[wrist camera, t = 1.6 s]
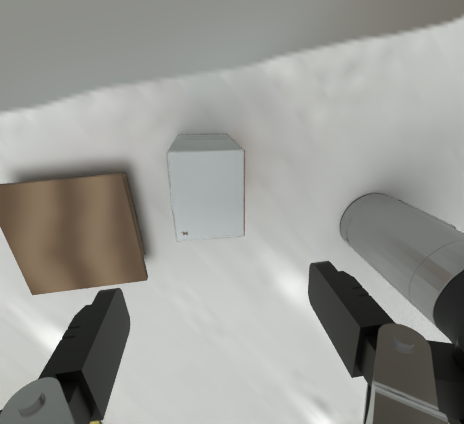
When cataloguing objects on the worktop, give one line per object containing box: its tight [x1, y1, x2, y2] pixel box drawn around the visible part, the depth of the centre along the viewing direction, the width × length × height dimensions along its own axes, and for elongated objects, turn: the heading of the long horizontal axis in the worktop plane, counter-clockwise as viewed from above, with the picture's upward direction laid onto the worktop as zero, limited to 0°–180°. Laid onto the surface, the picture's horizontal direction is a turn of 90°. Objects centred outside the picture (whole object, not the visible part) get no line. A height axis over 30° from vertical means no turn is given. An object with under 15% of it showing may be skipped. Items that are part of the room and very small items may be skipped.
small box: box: [167, 134, 245, 242], centre depth 28 cm, size 8×6×13 cm
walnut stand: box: [0, 173, 148, 295], centre depth 32 cm, size 14×14×5 cm
